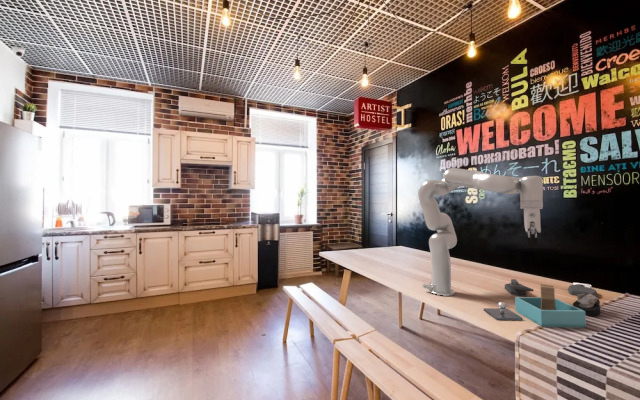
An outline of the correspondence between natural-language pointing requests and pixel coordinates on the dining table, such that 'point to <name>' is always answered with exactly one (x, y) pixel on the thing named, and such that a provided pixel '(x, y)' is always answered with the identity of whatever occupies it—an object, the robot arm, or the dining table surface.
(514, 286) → the zipper pull
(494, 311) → the base
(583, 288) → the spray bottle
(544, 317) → the bin
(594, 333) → the dining table surface
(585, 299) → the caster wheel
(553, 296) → the strut
